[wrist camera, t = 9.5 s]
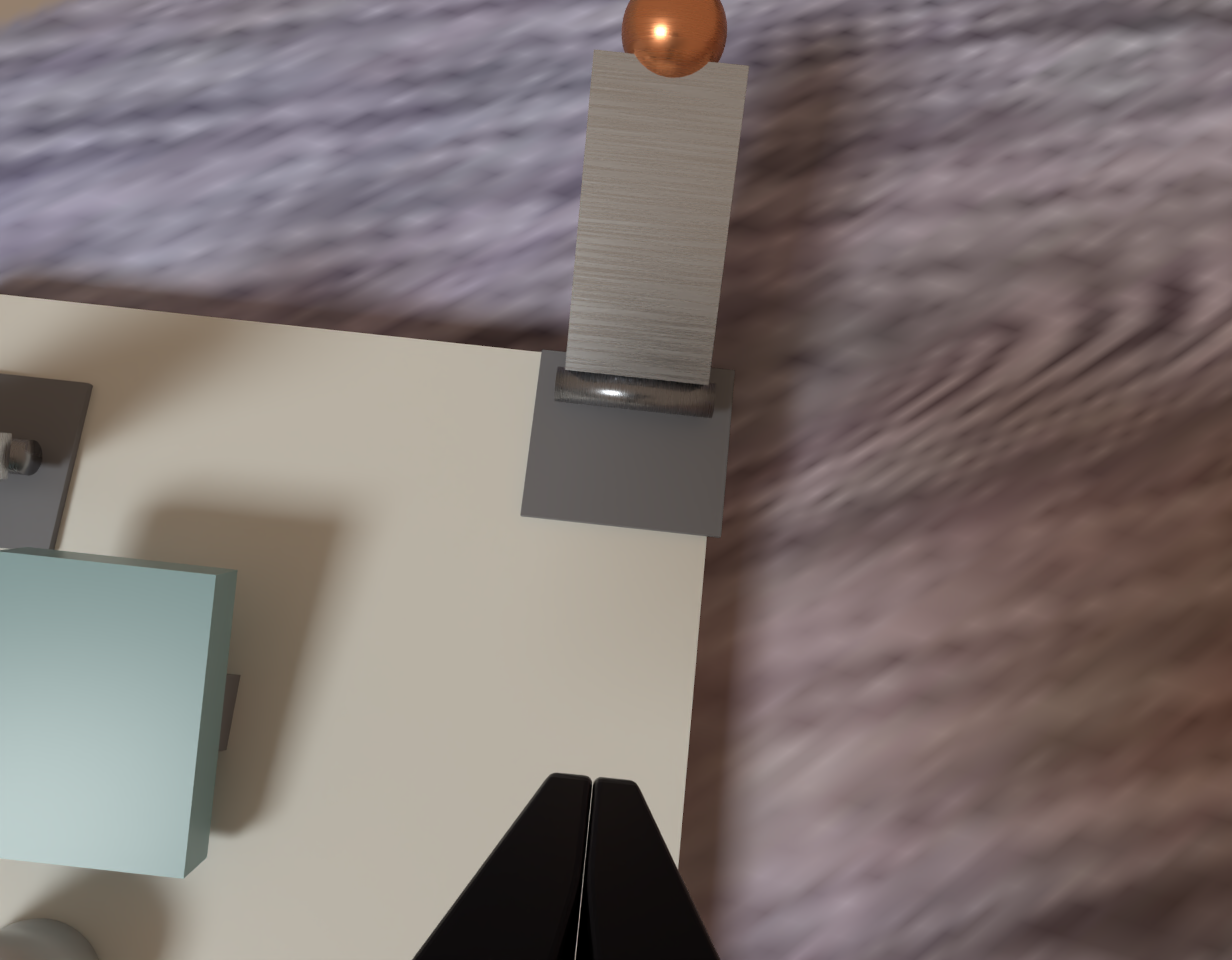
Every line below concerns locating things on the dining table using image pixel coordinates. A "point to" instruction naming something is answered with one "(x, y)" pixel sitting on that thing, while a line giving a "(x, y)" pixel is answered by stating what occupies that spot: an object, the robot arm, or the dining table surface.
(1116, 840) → the dining table surface
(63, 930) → the round button
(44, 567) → the pale teal flat block
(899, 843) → the dining table surface
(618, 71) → the grey block with ball
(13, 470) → the grey black-tipped post
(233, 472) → the panel
